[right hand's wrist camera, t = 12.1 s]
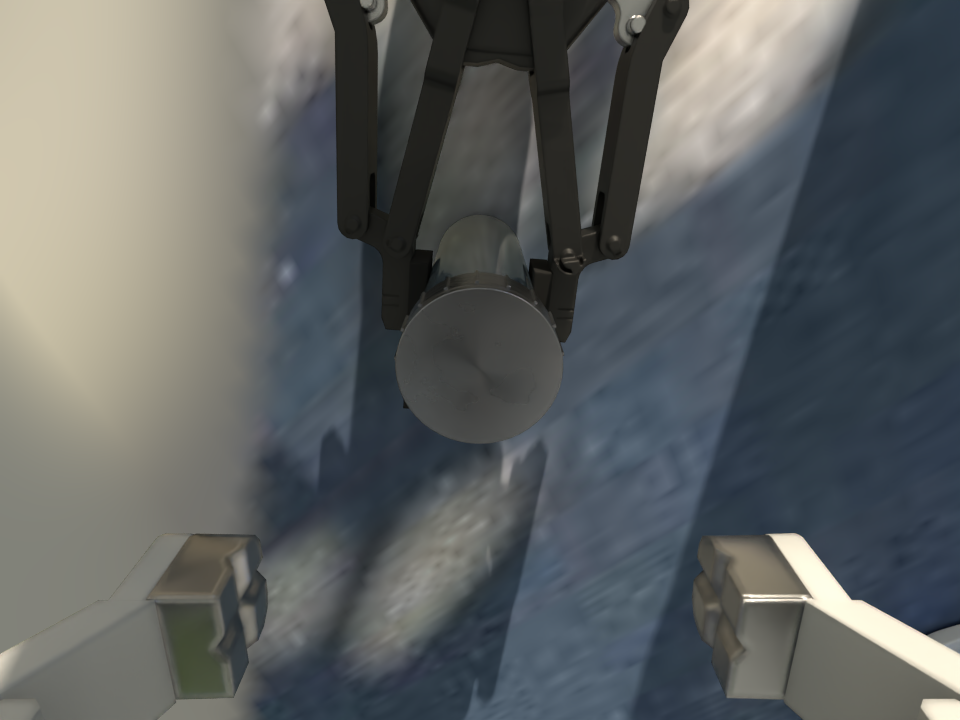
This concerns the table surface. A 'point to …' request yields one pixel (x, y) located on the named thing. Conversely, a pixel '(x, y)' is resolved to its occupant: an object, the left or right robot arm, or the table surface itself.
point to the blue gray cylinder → (479, 251)
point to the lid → (479, 358)
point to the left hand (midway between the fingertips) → (470, 399)
